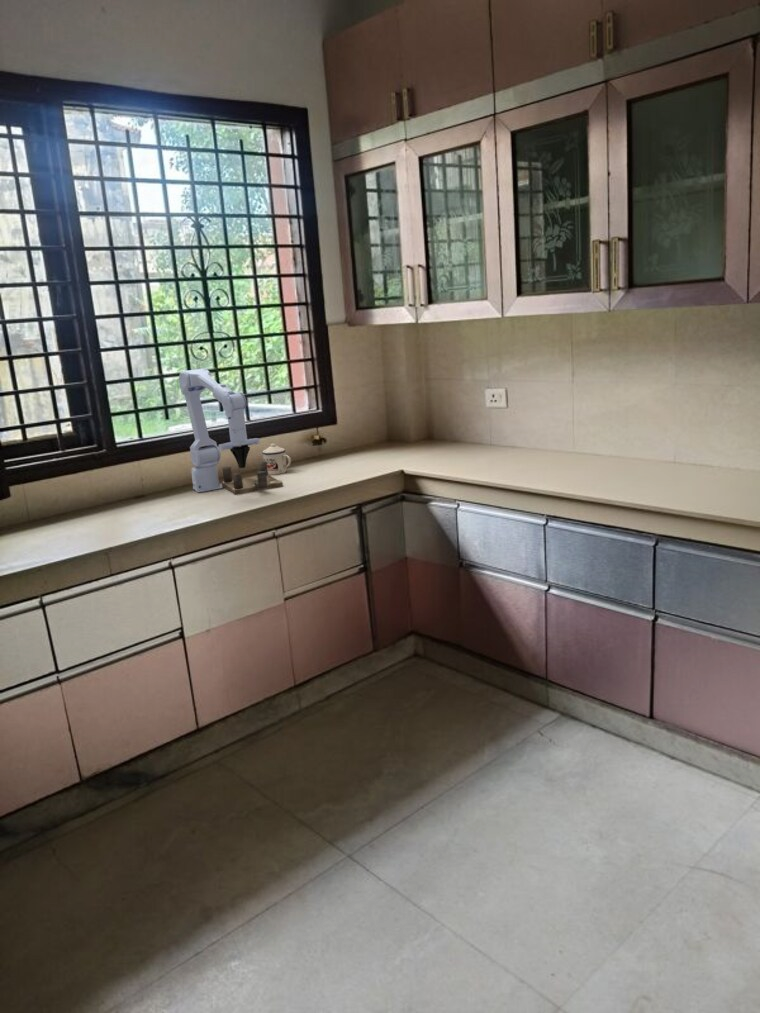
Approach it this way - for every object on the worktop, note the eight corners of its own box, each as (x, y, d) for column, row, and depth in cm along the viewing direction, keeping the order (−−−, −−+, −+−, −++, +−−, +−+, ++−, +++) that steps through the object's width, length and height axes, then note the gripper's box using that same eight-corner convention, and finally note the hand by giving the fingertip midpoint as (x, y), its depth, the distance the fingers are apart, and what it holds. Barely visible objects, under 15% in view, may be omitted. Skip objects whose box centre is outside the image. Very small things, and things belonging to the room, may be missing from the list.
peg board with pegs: (235, 494, 277) (232, 475, 275) (221, 485, 293) (219, 467, 291) (283, 486, 284) (281, 467, 282) (268, 478, 300) (266, 460, 299)
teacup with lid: (260, 474, 308) (256, 445, 305) (273, 469, 316) (270, 441, 313) (285, 475, 303) (282, 446, 300) (298, 470, 310) (295, 442, 307)
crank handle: (251, 484, 282) (250, 469, 281) (260, 482, 283) (259, 467, 282) (260, 489, 274) (258, 473, 272) (269, 487, 275) (267, 472, 274)
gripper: (223, 433, 260) (228, 472, 263) (261, 426, 268) (266, 465, 271) (214, 431, 265) (219, 470, 269) (252, 425, 274) (256, 462, 277)
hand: (242, 467), depth 271 cm, fingers closed
